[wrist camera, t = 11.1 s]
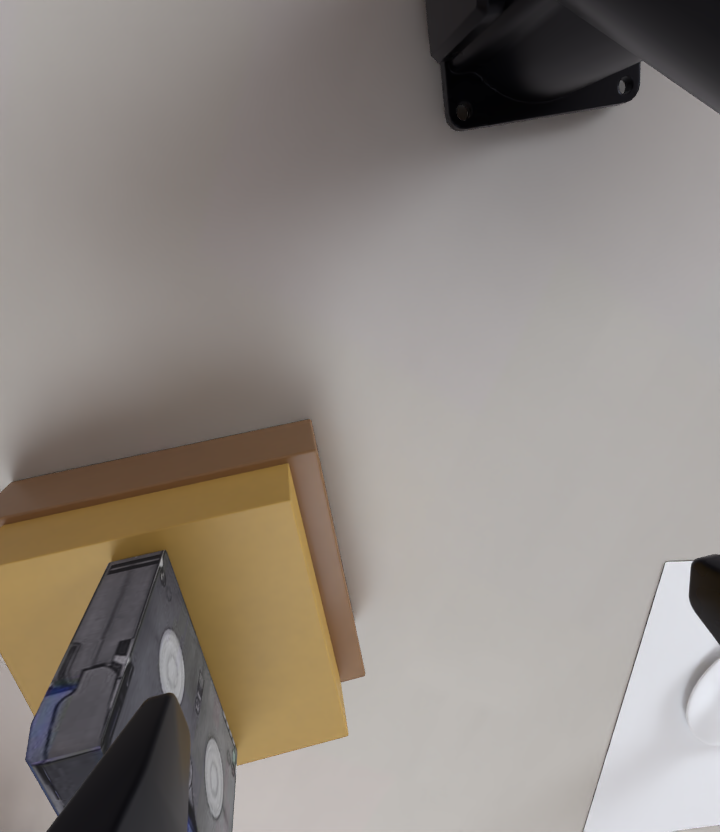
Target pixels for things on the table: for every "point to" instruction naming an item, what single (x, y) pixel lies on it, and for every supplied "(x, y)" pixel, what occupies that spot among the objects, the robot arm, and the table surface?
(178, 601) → the mini dv tape
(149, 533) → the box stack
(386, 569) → the table surface
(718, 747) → the white piece
